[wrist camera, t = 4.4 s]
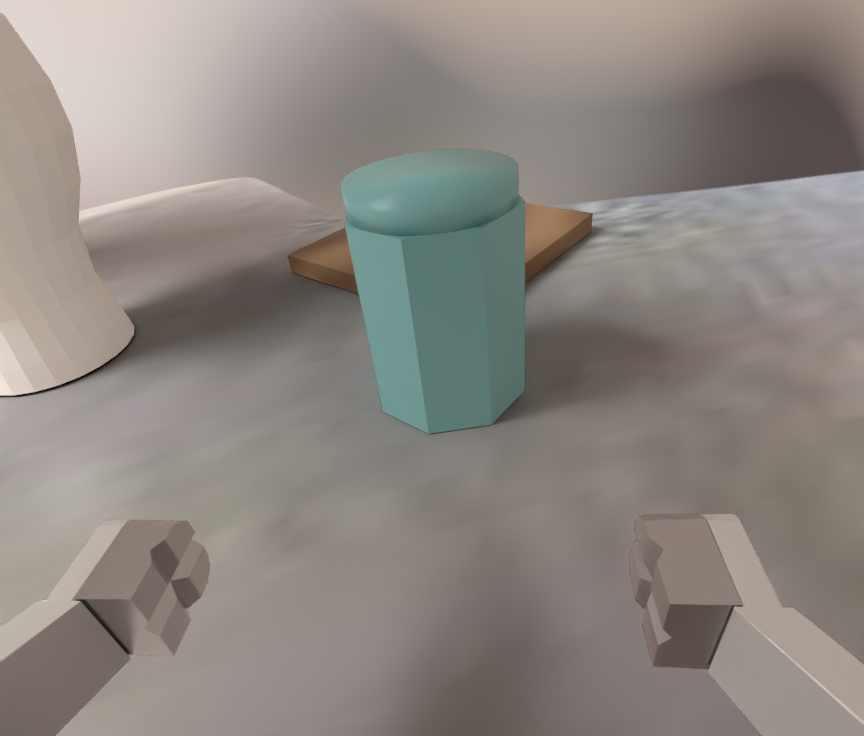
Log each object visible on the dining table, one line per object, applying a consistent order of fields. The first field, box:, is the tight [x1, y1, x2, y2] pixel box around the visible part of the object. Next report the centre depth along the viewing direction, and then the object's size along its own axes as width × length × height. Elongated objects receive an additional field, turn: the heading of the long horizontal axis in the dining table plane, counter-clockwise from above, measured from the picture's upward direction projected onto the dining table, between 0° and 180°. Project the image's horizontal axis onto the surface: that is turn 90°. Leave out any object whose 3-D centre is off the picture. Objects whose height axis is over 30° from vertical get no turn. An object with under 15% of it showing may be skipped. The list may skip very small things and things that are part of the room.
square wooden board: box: [287, 203, 593, 294], centre depth 33 cm, size 14×14×5 cm
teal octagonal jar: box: [340, 149, 525, 434], centre depth 20 cm, size 6×6×9 cm
